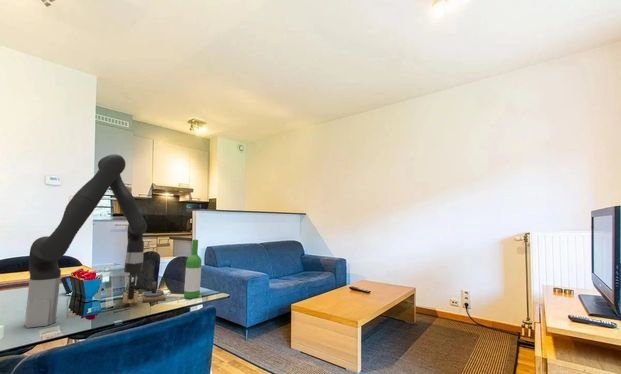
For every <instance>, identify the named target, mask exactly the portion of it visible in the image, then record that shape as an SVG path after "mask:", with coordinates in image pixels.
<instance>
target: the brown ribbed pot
mask: <svg viewBox="0 0 621 374" xmlns="http://www.w3.org/2000/svg"><path fill="white" fill-rule="evenodd" d="M128 292H129V291H128V290H127V291H125V292H123V295H122V303H123V304H131V303H137V302H139V291H138V290H134V297H133V299H131V300H128Z"/></svg>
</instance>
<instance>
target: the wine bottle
mask: <svg viewBox="0 0 621 374" xmlns="http://www.w3.org/2000/svg"><path fill="white" fill-rule="evenodd" d="M198 248H199V240H198V239H192V243H191V254H190V255H189V256H188V257H187V259H186V263H185V276H184V287H183V288H184V291H183V297H184V298H186V299H195V298H194V297H197V298H199V296H200V295H201V294H200V293H201V291H200V290H201V278H202V277H201V276H202V275H201V274H202V258H201V257H200V255H198V250H199V249H198Z"/></svg>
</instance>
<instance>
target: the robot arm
mask: <svg viewBox="0 0 621 374" xmlns="http://www.w3.org/2000/svg"><path fill="white" fill-rule="evenodd" d="M97 168H98V170H97V171H96V172H95V174H94V176H93V177H91V179H90V180H88V181H87V182H86V183H85V184H84V185H82V186H81V188H79V190H77V192H75V194H74V195H73V196H72V197H71V199H70V200H69V202H68V203H67V205H66V207H65V209H64V211H63V216H62V218H61V220H60V223H59V224H58V225H57V227H56V228H55V230H54V231H52V233H51V234H50V235H49V236H47V235H46V236H41V237H39V238H36V239H35V240H34V241H33V242H32V244H31V246H30V249H29V258H28V259H29V260H28V272H29V281H28V291H27V298H26V299H27V300H26V307H25V318H24V327H25V328H27V329H28V328H29V329H30V328H37V327H45V326H46V327H47V326H49V325H51V324H53V323H56V321H57V314H58V313H57V312H58V304H59V303H58V302H59V293H60V284H61V283H60V282H61V276H62V270H61V268H60V266H59V261H58V260H59V259H61V258H62V257H63V256H64V255H65V254H66V253H67V252H68V249H69V248H70V246H71V244H72V243H73V241H74V239H75V237H76V236H77V234H78V232H79V231H80V230H81V228H82V227H83V225H84V224H85V223H86V222H87V220H88V219H89V217H90V215H91V214H92V213H93V212H94V211H95V209H96V208H97V206H98V205H99V204H100V202H101V200H102V199H103V197H104V196H105V194H106V193H107V192H108V189H109V188H110V189H111V191H112V194H113V195H114V198H115V199H116V202H117V204H118V207H119V209H120V211H121V213H122V215H123V217H124V218H126V221H127V223H128V226H127V235H126V236H127V247H126V253H125V259H124V273H126V274H127V273H128V274H129V275H127V287H128V289H127V291H129V292H128V300H131V299H133V297H134V291H136V290H135V289H136V288H135V287H136V286H137V281H138V274H137V273H141V272H142V271H143V264H144V248H145V247H144V246H145V242H144V240H143V237H144V236H143V235H144V233H146V231H147V229H148V224H147V222H146V220H145V218H144V216H143V214H142V212H140V210H139V206H138V204H137V202H136V200H135V196H134V195H133V193H131V191H130V189H128V187H127V186H126V184H125V183H124V180H123V179H122V176H121V174H122V172H124V170H125V169H126V160H125V158H124V157H123V156H122V155H119V154H116V153H115V154H113V153H111V154H109V155H105V156H104V157H102V158H100V159H99V161H98V163H97Z"/></svg>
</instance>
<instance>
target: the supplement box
mask: <svg viewBox="0 0 621 374" xmlns="http://www.w3.org/2000/svg"><path fill="white" fill-rule="evenodd" d="M95 273H96V275H97V277H99V278H100V280H101V284H100V288H99V290H98V293H96V294H95V295H94V296H93V297H94V298H95V299H102V291H101V289H102V288H103V287H102V286H103V275H104V274H102V273H98V272H95Z"/></svg>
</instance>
